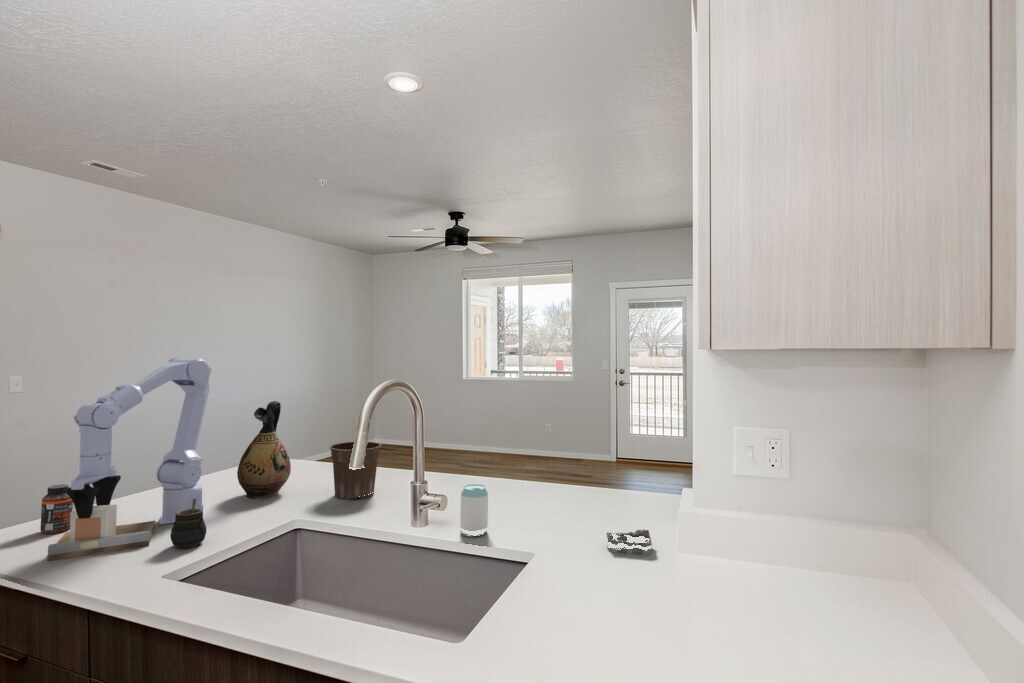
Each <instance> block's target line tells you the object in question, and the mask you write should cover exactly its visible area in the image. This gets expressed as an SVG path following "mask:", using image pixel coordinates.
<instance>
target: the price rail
mask: <svg viewBox="0 0 1024 683" xmlns="http://www.w3.org/2000/svg"><path fill="white" fill-rule="evenodd" d="M149 537H150V531H144V532H136V533H129V534H122V535H115V536H108V537H100V538H93V539H86V540H79V541H72V542H65V543H58V542H57V543H52V544H49V545H48V546H47V556H48V555H54V554H60V553H67V552H74V551H81V550H88V549H94V548H101V547H108V546H115V545H122V544H128V543H135V542H142V541H149Z"/></svg>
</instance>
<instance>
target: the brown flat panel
mask: <svg viewBox="0 0 1024 683" xmlns="http://www.w3.org/2000/svg"><path fill="white" fill-rule="evenodd" d="M155 524H156V520H151V521H142V522H134V523H128V524H119V525H116V535H122V534H129V533H136V532H144V531H150V537H149V541H142V542H135V543H128V544H122V545H115V546H108V547H101V548H94V549H88V550H81V551H74V552H67V553H60V554H54V555H48V554H47V562H49V561H56V560H63V559H69V558H75V557H82V556H88V555H95V554H102V553H109V552H115V551H123V550H129V549H134V548H136V549H137V548H142V547H149V546H150V543H151V540H152V536H153V533H154V530H155ZM65 542H70V531H67V532H66V531H65V532H64V534H63V535H62V536H61V537H60V539H59V540H58V542H57V543H65Z"/></svg>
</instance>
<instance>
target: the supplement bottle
mask: <svg viewBox="0 0 1024 683" xmlns="http://www.w3.org/2000/svg"><path fill="white" fill-rule="evenodd" d="M68 488H70V487H69V484H64V483H63V484H62V483H61V484H54V485H51V486H47V494H46V495H44V496H43V497H42V499H41V506H40V507H41V510H40V512H41V515H40V527H39V528H40V533H41V534H44V535H54V534H59V533H65V532H66V531H67V532H68V531H70V519H71V512H72V511H73V505H74V503H73V501H72V500H71V498H70V497H69V495H68V494H67V493H66V491H67V489H68Z"/></svg>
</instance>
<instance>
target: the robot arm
mask: <svg viewBox="0 0 1024 683" xmlns="http://www.w3.org/2000/svg"><path fill="white" fill-rule="evenodd" d="M211 373H212V368H211V367H210V366H209V364H208V362H207V361H206V360H204V359H203V358H179V357H174V358H170V359H169V360H168V361H165V362H162V363H161V365H160V366H159V367H158V368H156V369H155V370H153V371H152V372H150V373H149V374H147V375H146V376H144V377H143V378H142V379H140V380H139V381H137V382H136V383H134V384H131V383H130V384H129V383H127V384H119V385H116V386H115V389H114V390H113V391H111V392H109V393H108V394H106V395H104V396H99V397H98V398H97V400H96V401H95V402H88V403H85V404H83V405H81V406H80V408H78V410H77V412H76V415H73V420H74V422H75V424H76V425H77V426H78V429H79V430H78V432H79V433H80V438H79V474H78V475H77V476H76V478H75V479H73V480H72V481H71V486H70V487H69V488H68V489H67V491H66V493H67V494H68V495H69V497H70V498H71V500H72V501H73V505H74V508H75V509H74V510H76V512H77V515H78V518H79V519H83V518H90V517H91V515H92V510H93V506H94V502H95V504H96V505H95V506H98V505H111V502H112V498H113V494H114V493H115V492H114V491H115V489H116V488H117V485H118V484H119V482H120V481H121V477H122V476H121V475H117V465H112V443H113V442H112V441H113V426H115V425H116V424H117V423H118V421H119V418H120V417H121V416H123V415H124V414H125V413H126V412H129V410H131V409H133V408H134V407H136V406H138V405H139V404H141V403H142V402H143V399H144V398H143V397H144V396H145V395H147V394H148V393H150V392H152V391H154V390H156V389H157V388H159V387H161V386H163V385H164V384H166V383H168V382H172V383H174V384H176V385H177V386H178V387H179V388H181V390H183V391H184V393H185V395H184V400H183V404H182V408H181V412H180V417H179V419H178V425H177V429H176V433H175V437H174V442H173V445H172V448H171V450H170V451H169V452H167V453H166V454H165V455H163V459H162V461H161V464H160V465H159V466H158V468H157V470H156V480H157V481H158V482H159V483H161V484H160V487H161V488H162V506H161V508H162V510H161V512H162V513H161V515H160V519H159V522H158V524H159V525H160V526H161V525H169V524H174V523H175V520H176V519H175V517H176V515H175V514H176V513H177V512H179V511H182V510H187V509H192V505H193V499H196V503H195V508H194V509H202V510H203V511H204V504H203V484H202V483H201V484H197V483H198V482H199V480H201V476H202V459H203V458H202V457H201V456H200V455H199V454H198V453H197V452H196V449H197V445H198V441H199V437H200V434H201V433H200V432H201V428H202V424H203V421H204V420H203V419H204V415H205V411H206V406H207V401H208V397H209V394H210V376H211Z"/></svg>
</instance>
